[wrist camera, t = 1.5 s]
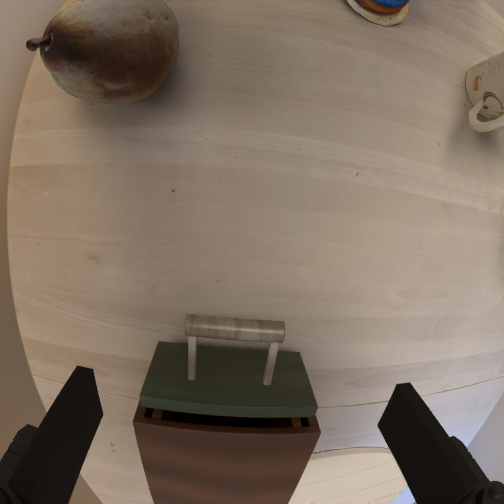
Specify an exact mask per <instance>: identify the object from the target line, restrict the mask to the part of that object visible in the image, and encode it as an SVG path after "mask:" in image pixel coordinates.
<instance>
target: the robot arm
mask: <svg viewBox="0 0 504 504" xmlns="http://www.w3.org/2000/svg"><path fill="white" fill-rule="evenodd" d="M102 417H103V411H102V407H101V403H100V398H99V394H98V390H97V385H96V381H95V376H94V371H93V369H90V368H86V367H82V366H77V367H76V368H75V370H74V371H73V373H72V374H71V376H70V377H69V379H68V380H67V382H66V384H65V385H64V387H63V388H62V390H61V391H60V393H59V395H58V396H57V398H56V399H55V401H54V403H53V404H52V406H51V407H50V409H49V411H48V412H47V414H46V416H45V417H44V419H43V421H42V422H41V424H40V426H39V427H38V428H37V427H34V426H32V425H29V424H27V425H26V426H25V427H23V428H22V429H21V430H19V431H18V433H17V434H16V436H15V437H14V439H13V442H12V443H11V444H10V446H9V447H8V450H7V451H6V452H5V454H4V456H3V457H2V459H1V461H0V504H68V503H69V500H70V498H71V495H72V492H73V489H74V487H75V484H76V481H77V478H78V476H79V473H80V471H81V468H82V465H83V463H84V460H85V458H86V455H87V453H88V450H89V448H90V445H91V443H92V440H93V438H94V436H95V433H96V431H97V428H98V426H99V424H100V421H101V419H102ZM377 426H378V427H379V429H380V431H381V433H382V435H383V437H384V439H385V441H386V443H387V445H388V447H389V449H390V451H391V453H392V455H393V457H394V459H395V461H396V463H397V465H398V466H399V468H400V470H401V472H402V474H403V476H404V478H405V480H406V482H407V484H408V486H409V489H410V491H411V493H412V495H413V497H414V499H415V501H416V503H417V504H504V484H502V483H501V482H498V481H492V482H490V481H489V479H488V478H487V477H486V475H485V474H484V472H483V471H482V469H481V468H480V467H479V465H478V464H477V462H476V461H475V459H474V458H472V455H471V454H470V452H468V449H467V448H466V447H465V445H464V444H463V442H461V441H460V440H459V439H457V438H456V437H455V436H452V437H449V436H448V434H447V433H446V432H445V430H444V429H443V427H442V426H441V425H440V423H439V422H438V420H437V419H436V418H435V416H434V415H433V413H432V412H431V411H430V409H429V408H428V406H427V405H426V404H425V402H424V401H423V400H422V398H421V397H420V396H419V394H418V393H417V392H416V390H415V389H414V387H413V386H412V385H411V383H402V384H397V385H396V387H395V389H394V392H393V394H392V396H391V398H390V400H389V402H388V405H387V407H386V409H385V411H384V413H383V415H382V417H381V419H380V421H379V423H378V425H377Z"/></svg>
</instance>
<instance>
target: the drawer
mask: <svg viewBox="0 0 504 504" xmlns="http://www.w3.org/2000/svg"><path fill="white" fill-rule="evenodd" d="M185 335H186V336H189V337H188V345H185V344H176V343H168V342H160V341H159V342H158V345H157V348H156V350H155V353H154V356H153V359H152V361H151V364H150V367H149V370H148V373H147V375H146V378H145V381H144V384H143V387H142V390H141V393H140V403H141V406H142V407H148V408H154V410H153V414H152V418H154V419H161V420H168V421H175V422H183V423H193V424H203V425H215V426H231V427H259V428H286V427H302V424H301V420H300V417H315V414H316V411H317V409H318V405H317V402H316V399H315V396H314V393H313V390H312V387H311V384H310V382H309V379H308V376H307V373H306V370H305V367H304V364H303V361H302V358H301V355H300V352H283V351H277V350H278V345H279V343H282V342H283V340H284V336H285V324H284V322H283V321H270V320H254V319H240V318H228V317H216V316H205V315H195V314H187V316H186V322H185ZM197 337H203V338H214V339H227V340H240V341H256V342H270V343H269V349H268V351H260V350H243V349H228V348H216V347H205V346H197Z"/></svg>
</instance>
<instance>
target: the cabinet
mask: <svg viewBox="0 0 504 504" xmlns="http://www.w3.org/2000/svg"><path fill="white" fill-rule="evenodd" d="M153 410H154V408H148V407H142V406H141V403H140V400H139V404H138V407H137V410H136V413H135V416H134V419H133V426H134V430H135V435H136V439H137V444H138V448H139V452H140V456H141V460H142V464H143V468H144V471H145V475H146V479H147V482H148V486H149V489H150V492H151V496H152V499H153V502H154V504H288V503H289V501H290V499H291V497H292V495H293V493H294V491H295V489H296V487H297V485H298V483H299V481H300V479H301V477H302V475H303V473H304V470H305V468H306V466H307V464H308V462H309V459H310V457H311V455H312V453H313V450H314V448H315V446H316V443H317V441H318V439H319V436H320V434H321V431H320V428H319V424H318V421H317V418H316V415H315V417H300V420H301V424H302V427H286V428H259V427H231V426H215V425H203V424H193V423H183V422H175V421H168V420H161V419H154V418H152V414H153Z"/></svg>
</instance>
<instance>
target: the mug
mask: <svg viewBox="0 0 504 504" xmlns="http://www.w3.org/2000/svg"><path fill="white" fill-rule="evenodd" d="M466 89H467V93H468V96H469V99H470V101H471V103H472V105H473V106H474V107H473V108H472V109H471V111H470V112H469V114H468V122H469V125H470V127H471V128H472V129H473V130H474V131H476V132H481V133H484V132H491V131H494V130H497V129H500V128H502V127H504V52H502V53H500V54H498V55H496V56H494V57H491V58H489V59H487V60H485V61H483V62H481V63H479V64H477V65H475V66H474V67H472V68H470V69H469V71H468V72H467V75H466ZM478 113H480V114H481V115H482V116H484V117H487V118H492V119H495V120H492V121H488V122H480V121H479V120H477V118H476V116H477V115H478Z"/></svg>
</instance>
